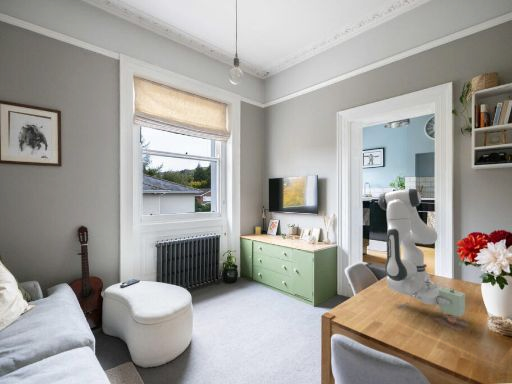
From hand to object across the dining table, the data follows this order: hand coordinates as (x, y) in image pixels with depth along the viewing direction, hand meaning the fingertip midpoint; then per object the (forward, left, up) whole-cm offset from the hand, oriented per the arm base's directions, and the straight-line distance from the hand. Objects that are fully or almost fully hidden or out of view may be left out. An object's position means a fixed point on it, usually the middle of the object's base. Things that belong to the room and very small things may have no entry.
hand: (454, 300), depth 114 cm
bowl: (0, -1, -10) cm, 10 cm away
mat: (0, -18, -11) cm, 21 cm away
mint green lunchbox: (0, -1, -5) cm, 5 cm away
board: (0, -1, -11) cm, 11 cm away
